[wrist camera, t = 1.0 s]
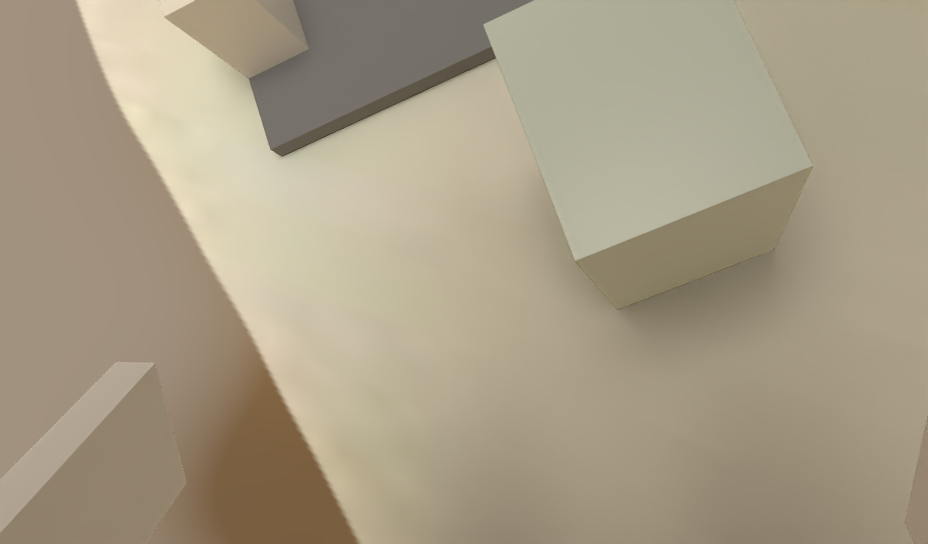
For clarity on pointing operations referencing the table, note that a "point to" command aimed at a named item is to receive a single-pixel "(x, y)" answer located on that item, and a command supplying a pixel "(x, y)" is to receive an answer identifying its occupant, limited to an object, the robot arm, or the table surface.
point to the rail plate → (338, 54)
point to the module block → (652, 136)
